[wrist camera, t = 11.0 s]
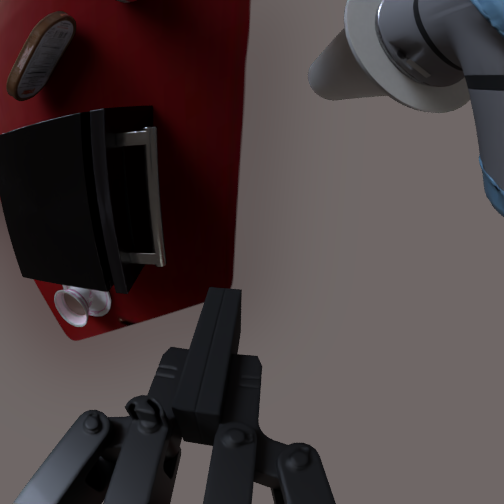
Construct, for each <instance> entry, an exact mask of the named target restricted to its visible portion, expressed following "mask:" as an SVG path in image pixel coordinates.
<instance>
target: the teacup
mask: <svg viewBox="0 0 504 504" xmlns="http://www.w3.org/2000/svg"><path fill="white" fill-rule="evenodd" d="M63 288H64V290H60V291H57V292H56V294H55V297H54V301H55V305H56V308H57V310H58V312H59V313H60V315H61V316H62V317H63V318H64V319H65V320H66V321H67V322H68V323H70V324H71V325H73V326H76V327H82V326H84V325H85V324H86V323H87V321H88V315H91V316H96V317H97V316H103V315H105V314H107V313H108V311H109V310H110V308H111V297H110V292H109V291H108V292H103V291H96V290H90V289H84V288H78V287H73V286H67V285H63Z"/></svg>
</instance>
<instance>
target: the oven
mask: <svg viewBox="0 0 504 504" xmlns="http://www.w3.org/2000/svg"><path fill="white" fill-rule="evenodd" d="M0 197H1V202H2V207H3V212H4V216H5V220H6V224H7V228H8V232H9V235H10V239H11V242H12V245H13V249H14V252H15V255H16V259H17V262H18V265H19V267H20V270H21V273H22V276H23V277H26V278H30V279H35V280H40V281H45V282H51V283H56V284H61V285H67V286H73V287H78V288H84V289H90V290H96V291H103V292H108V291H109V290H110V288H111V287H112V286H113V284H114V282H113V278H112V274H111V270H110V266H109V261H108V257H107V252H106V247H105V242H104V237H103V231H102V226H101V220H100V214H99V207H98V200H97V193H96V185H95V177H94V167H93V156H92V143H91V124H90V111H89V112H82V113H76V114H72V115H67V116H63V117H59V118H55V119H51V120H47V121H43V122H39V123H36V124H32V125H29V126H26V127H22V128H19V129H16V130H13V131H10V132H7V133H4V134H1V135H0Z"/></svg>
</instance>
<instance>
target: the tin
mask: <svg viewBox="0 0 504 504" xmlns="http://www.w3.org/2000/svg"><path fill="white" fill-rule="evenodd" d="M75 31H76V22H75V20H74V18H72V17H71V16H69V15H68V14H67V13H65V12H62V11H58V12H54V13H51V14H49V15H47V16H46V17H45V18H43V19H42V20H41V21H40V22H39V23H38V24H37V25H36V26H35V27H34V29H33V30H32V32H31V33H30V35H29V37H28V39H27V41H26V42H25V44H24V46H23V48H22V50H21V52H20V54H19V56H18V58H17V60H16V62H15V64H14V66H13V68H12V70H11V72H10V75H9V77H8V80H7V92H8V94H9V95H10V96H13V97H14V98H15V99H16V100H18V101H24V100H27V99H30V98H32V97H34V96H35V95H36V94H37V93H38V92H39V91H40V90H41V89H42V88H43V87H44V86H45V84H46V83H47V81H48V80H49V78H50V76H51V74H52V72H53V71H54V69H55V67H56V65H57V63H58V62H59V60H60V58H61V57H62V55H63V53H64V52H65V50H66V48H67V47H68V45H69V44H70V42H71V40H72V39H73V37H74V34H75Z"/></svg>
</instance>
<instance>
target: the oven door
mask: <svg viewBox="0 0 504 504" xmlns="http://www.w3.org/2000/svg"><path fill="white" fill-rule="evenodd" d="M90 124H91V143H92V156H93V167H94V177H95V185H96V193H97V200H98V207H99V214H100V220H101V226H102V231H103V237H104V242H105V247H106V252H107V257H108V261H109V266H110V270H111V274H112V278H113V282H114V286H115V290H116V293H124V294H128V293H129V291H130V289H131V287H132V286H133V284H134V282H135V281H136V279H137V277H138V276H139V274H140V272H141V271H142V269H143V267H144V266H145V264H155V266H157V267H163V266H165V265H166V264H167V262H166V253H165V244H164V235H163V224H162V213H161V200H160V186H159V167H158V141H157V126H153V106H152V105H151V106H129V107H114V108H103V109H97V110H92V111H90Z"/></svg>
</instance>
